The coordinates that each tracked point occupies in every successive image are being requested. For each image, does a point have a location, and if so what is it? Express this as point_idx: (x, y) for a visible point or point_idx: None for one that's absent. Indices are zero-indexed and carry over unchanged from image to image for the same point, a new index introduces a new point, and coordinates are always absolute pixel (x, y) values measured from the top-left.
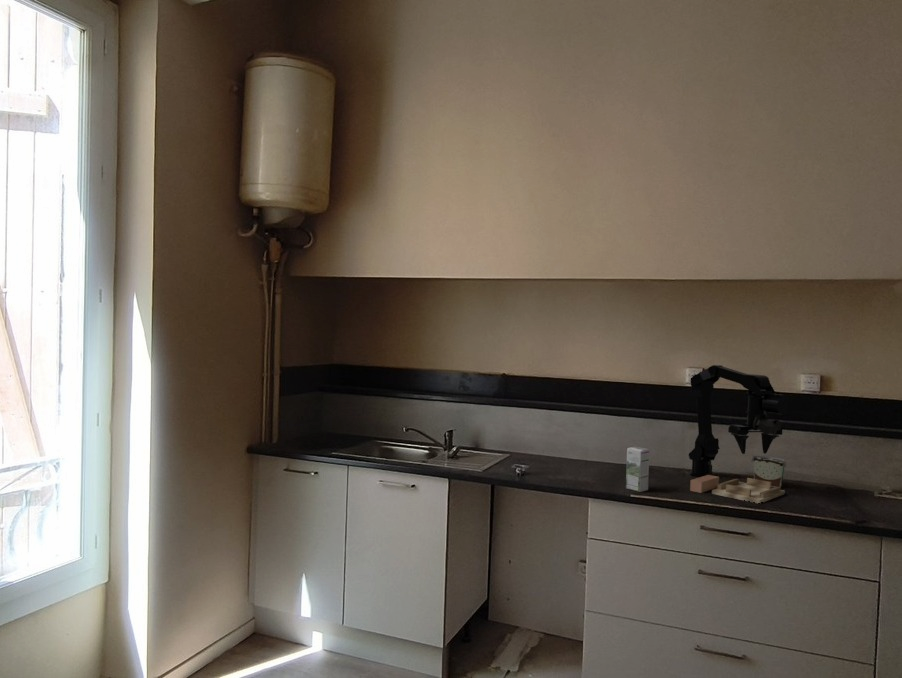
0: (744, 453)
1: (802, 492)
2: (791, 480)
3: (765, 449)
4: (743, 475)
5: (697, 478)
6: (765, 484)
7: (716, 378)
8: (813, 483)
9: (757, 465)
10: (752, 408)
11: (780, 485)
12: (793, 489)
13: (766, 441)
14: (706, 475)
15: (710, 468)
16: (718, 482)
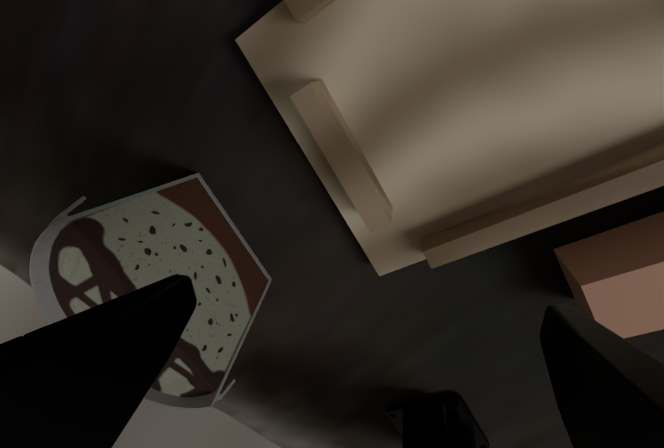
0: (557, 306)
1: (120, 70)
2: None
3: (154, 311)
4: (238, 381)
5: None
6: (331, 108)
7: None
8: (6, 227)
9: (220, 336)
10: None
11: (188, 176)
12: (139, 140)
13: (21, 429)
14: (642, 332)
15: (422, 436)
16: (571, 262)
